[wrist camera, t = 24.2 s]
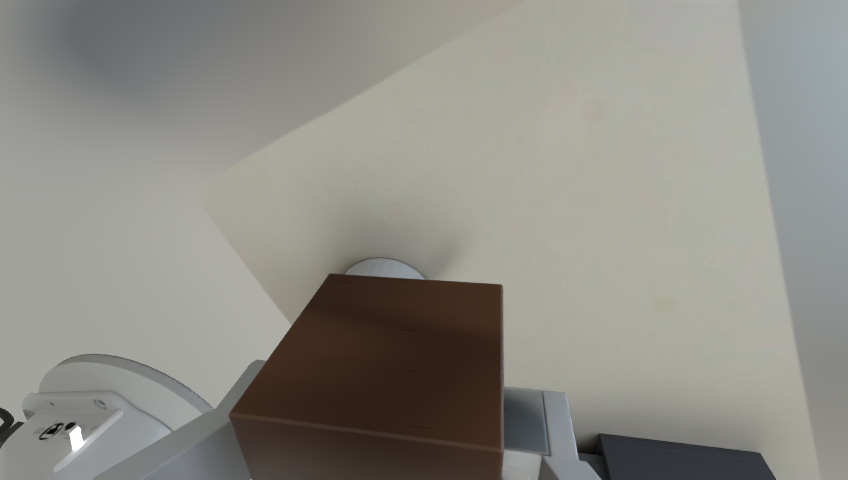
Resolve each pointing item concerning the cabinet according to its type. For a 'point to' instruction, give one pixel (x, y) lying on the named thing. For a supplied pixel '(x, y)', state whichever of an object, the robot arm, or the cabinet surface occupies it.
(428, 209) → the cabinet surface
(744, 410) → the cabinet surface
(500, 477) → the block
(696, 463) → the cabinet
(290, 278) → the cabinet surface
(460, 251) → the cabinet surface
